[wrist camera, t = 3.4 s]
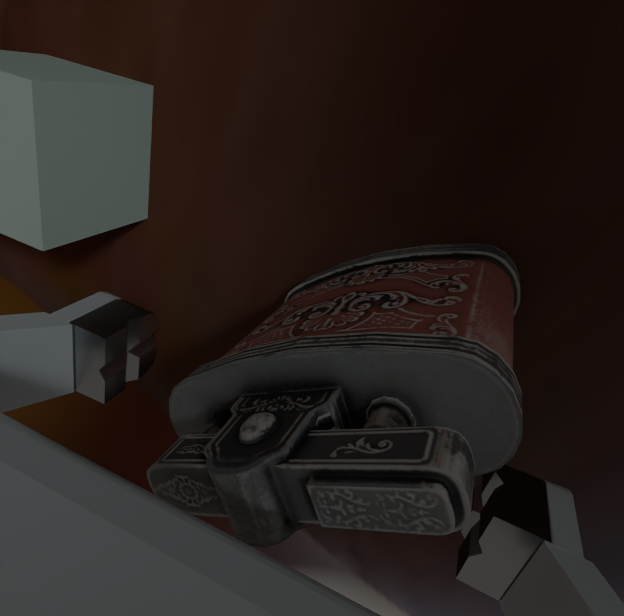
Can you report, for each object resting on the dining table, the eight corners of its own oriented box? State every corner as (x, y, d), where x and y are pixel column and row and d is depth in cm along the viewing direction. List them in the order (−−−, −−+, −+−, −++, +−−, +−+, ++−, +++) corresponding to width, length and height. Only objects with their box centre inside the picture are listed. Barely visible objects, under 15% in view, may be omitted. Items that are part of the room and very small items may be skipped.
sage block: (154, 86, 17) (31, 80, 12) (148, 218, 19) (43, 251, 15) (48, 55, 18) (-98, 40, 14) (54, 182, 20) (-68, 204, 16)
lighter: (307, 353, 18) (129, 565, 10) (280, 273, 18) (59, 433, 9) (529, 326, 15) (545, 627, 6) (509, 224, 14) (499, 414, 5)
